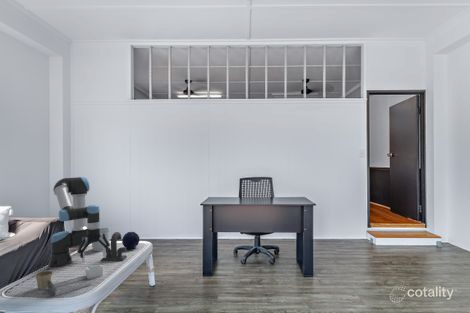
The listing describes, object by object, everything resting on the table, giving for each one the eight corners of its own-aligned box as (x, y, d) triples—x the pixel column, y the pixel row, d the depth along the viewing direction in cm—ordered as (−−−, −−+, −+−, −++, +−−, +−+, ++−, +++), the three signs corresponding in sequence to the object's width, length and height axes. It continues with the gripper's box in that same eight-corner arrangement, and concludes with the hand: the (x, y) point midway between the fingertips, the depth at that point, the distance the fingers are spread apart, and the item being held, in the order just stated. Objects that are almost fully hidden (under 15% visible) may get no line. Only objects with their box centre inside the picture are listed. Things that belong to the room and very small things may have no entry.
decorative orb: (135, 245, 246) (138, 228, 255) (117, 245, 246) (121, 229, 255) (140, 251, 257) (142, 235, 266) (123, 251, 257) (126, 235, 266)
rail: (47, 289, 177) (47, 280, 177) (85, 278, 191) (84, 271, 191) (53, 296, 167) (53, 287, 167) (91, 284, 182) (91, 276, 182)
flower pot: (50, 282, 186) (49, 269, 186) (55, 286, 180) (55, 272, 180) (32, 288, 179) (32, 274, 179) (38, 292, 173) (37, 277, 173)
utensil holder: (101, 245, 265) (101, 226, 265) (114, 247, 260) (113, 227, 260) (87, 250, 252) (87, 230, 252) (100, 252, 246) (100, 231, 246)
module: (85, 276, 195) (85, 267, 195) (100, 272, 201) (99, 263, 201) (88, 279, 191) (88, 269, 191) (102, 275, 196) (102, 265, 197)
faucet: (131, 254, 240) (130, 229, 240) (123, 260, 224) (122, 234, 224) (109, 254, 240) (109, 230, 240) (100, 261, 224) (99, 235, 224)
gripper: (74, 232, 185) (75, 266, 184) (114, 225, 202) (115, 256, 202) (71, 231, 190) (72, 263, 190) (110, 224, 207) (110, 254, 207)
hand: (94, 260), depth 196 cm, fingers open, 13 cm apart
